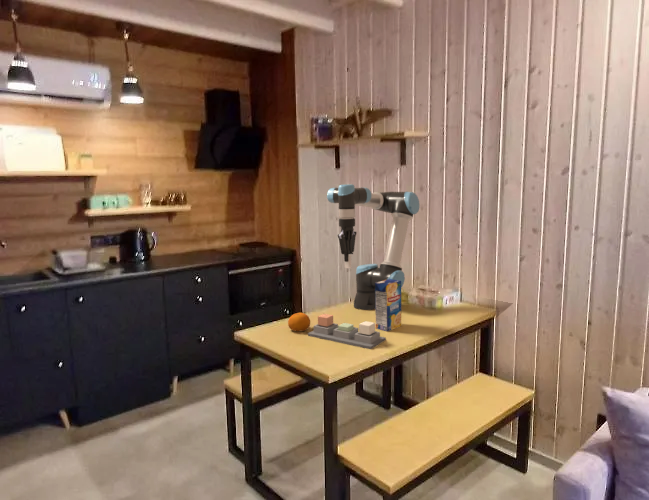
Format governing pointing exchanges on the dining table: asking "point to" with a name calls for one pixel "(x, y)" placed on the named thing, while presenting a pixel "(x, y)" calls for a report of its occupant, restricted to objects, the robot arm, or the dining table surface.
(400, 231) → the robot arm
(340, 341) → the button board
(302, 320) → the fruit
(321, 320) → the button terracotta
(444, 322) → the dining table surface
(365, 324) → the button ivory
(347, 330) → the button sage
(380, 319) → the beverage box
